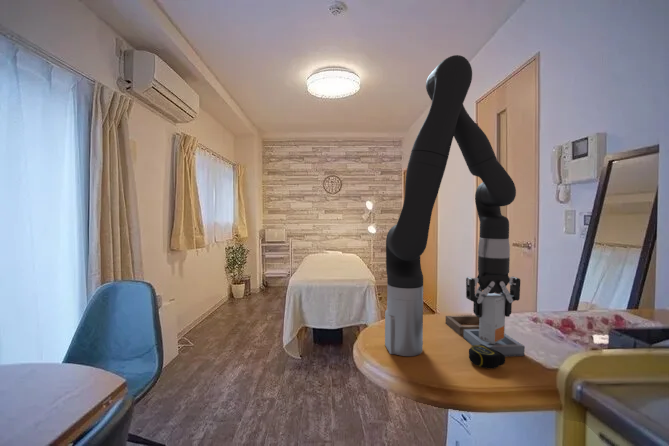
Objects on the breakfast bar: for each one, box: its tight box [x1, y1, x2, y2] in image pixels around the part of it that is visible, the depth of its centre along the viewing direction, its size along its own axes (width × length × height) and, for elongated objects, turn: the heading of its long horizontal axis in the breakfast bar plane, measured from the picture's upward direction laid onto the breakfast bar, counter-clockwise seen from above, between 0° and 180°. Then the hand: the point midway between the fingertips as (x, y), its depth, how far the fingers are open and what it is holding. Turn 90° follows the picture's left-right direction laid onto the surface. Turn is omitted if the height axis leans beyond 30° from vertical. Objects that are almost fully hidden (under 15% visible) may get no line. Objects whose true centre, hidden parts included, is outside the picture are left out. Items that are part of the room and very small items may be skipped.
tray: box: [463, 329, 525, 358], centre depth 86 cm, size 10×12×2 cm
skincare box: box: [478, 293, 506, 344], centre depth 86 cm, size 6×4×12 cm
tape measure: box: [468, 344, 506, 370], centre depth 76 cm, size 7×7×4 cm
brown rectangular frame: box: [445, 314, 479, 336], centre depth 99 cm, size 12×10×2 cm
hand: (492, 315), depth 86 cm, fingers closed on skincare box, 7 cm apart
